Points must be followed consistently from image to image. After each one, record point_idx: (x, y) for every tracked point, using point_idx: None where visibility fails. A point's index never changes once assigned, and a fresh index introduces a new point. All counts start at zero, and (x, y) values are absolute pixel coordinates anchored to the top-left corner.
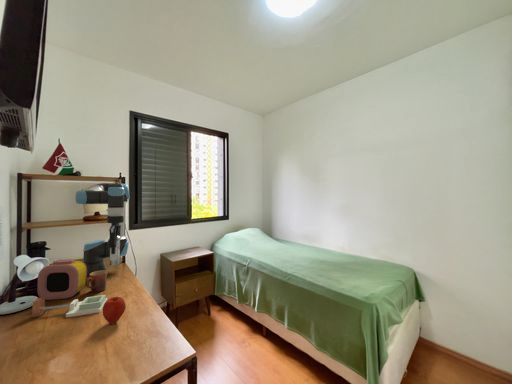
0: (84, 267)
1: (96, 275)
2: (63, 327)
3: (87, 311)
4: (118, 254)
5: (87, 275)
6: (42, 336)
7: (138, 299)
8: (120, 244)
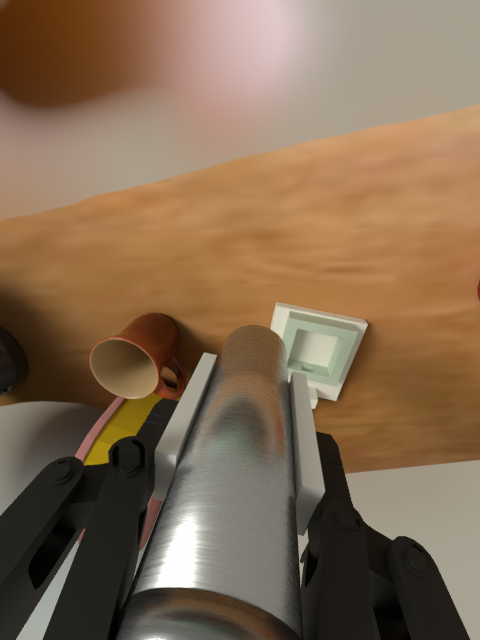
0: (108, 438)
1: (159, 377)
2: (397, 393)
3: (354, 355)
4: (274, 382)
5: (18, 373)
6: (412, 423)
7: (339, 184)
8: (145, 442)
